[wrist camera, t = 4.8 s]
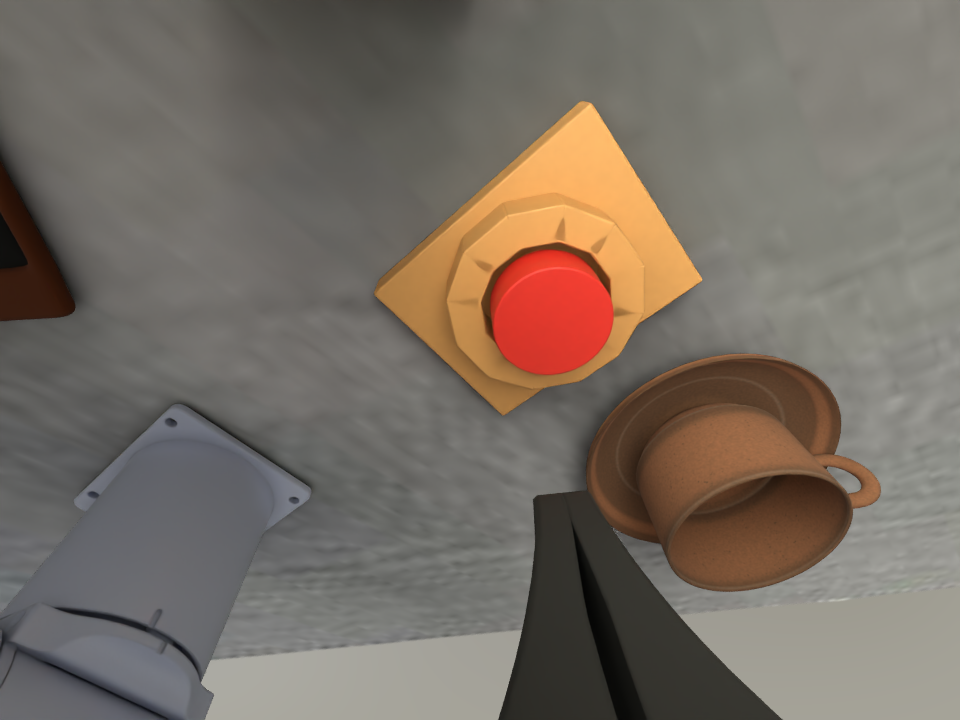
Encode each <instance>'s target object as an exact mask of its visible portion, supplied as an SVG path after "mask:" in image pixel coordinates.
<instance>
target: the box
mask: <svg viewBox="0 0 960 720" xmlns="http://www.w3.org/2000/svg"><path fill="white" fill-rule="evenodd" d="M539 250H562V251H566V252H569V253H572V254H574V255H576V256H578V257H580V258H581V259H583V260H584V261H585V262H586V263H587V264H588V265H589V266H590V267H591V268H592V269H593V271H594V272H595V274H596V275H597V277H598V278H599V279H600V281H601V282H602V284H603V285H604V287H605V288H606V290H607V292H608V293H609V295H610V298H611V300H612V304H613V310H614V321H613V326H612V330H611V333H610V336H609V338H608V340H607V342H606V343H605V345H604V346H603V348H602V349H601V350H600V351H599V353H598V354H597V355H596V356H595V357H594V358H592V359H591V360H590V361H589V362H587V363H586V364H584V365H582V366H581V367H579V368H577V369H574V370H572V371H569V372H566V373H562V374H556V375H539V374H534V373H530V372H527V371H524V370H522V369H520V368H518V367H516V366H515V365H513V364H512V363H510V362H509V361H508V360H507V359H506V358H505V357H504V356H503V354H502V353H501V352H500V350H499V348H498V346H497V344H496V342H495V338H494V335H493V327H492V320H491V313H490V298H491V293H492V290H493V287H494V285H495V283H496V281H497V279H498V278H499V276H500V275H501V273H502V272H503V271H504V270H505V269H506V268H507V267H508V266H509V265H510V264H511V263H513V262H514V261H515V260H517V259H518V258H520V257H522V256H524V255H526V254H529V253H532V252H535V251H539ZM701 281H702V278H701V276H700V275H699V273H698V271H697V270H696V268H695V267H694V265H693V264H692V262H691V260H690V259H689V257H688V256H687V254H686V252H685V251H684V249H683V248H682V246H681V244H680V243H679V241H678V240H677V238H676V236H675V235H674V233H673V232H672V230H671V228H670V227H669V225H668V224H667V222H666V220H665V219H664V217H663V216H662V214H661V213H660V211H659V209H658V208H657V206H656V205H655V203H654V201H653V200H652V198H651V197H650V195H649V193H648V192H647V190H646V189H645V187H644V185H643V184H642V182H641V181H640V179H639V177H638V176H637V174H636V173H635V171H634V169H633V168H632V166H631V165H630V163H629V162H628V160H627V158H626V157H625V155H624V154H623V152H622V150H621V149H620V147H619V146H618V144H617V142H616V141H615V139H614V138H613V136H612V134H611V133H610V131H609V130H608V128H607V126H606V125H605V123H604V122H603V120H602V118H601V117H600V115H599V114H598V112H597V111H596V109H595V107H594V106H593V104H591V103H588V102H584V101H581V102H579V103H578V104H577V105H576V106H575V107H574V108H572V109H571V110H570V111H569V112H568V113H567V114H566V115H565V116H563V117H562V118H561V119H560V120H559V121H558V122H557V123H555V124H554V125H553V126H552V127H551V128H550V129H549V130H548V131H546V132H545V133H544V134H543V135H542V136H541V137H540V138H539V139H537V140H536V141H535V142H534V143H533V144H532V145H531V146H530V147H528V148H527V149H526V150H525V151H524V152H523V153H522V154H521V155H519V156H518V157H517V158H516V159H515V160H514V161H513V162H511V163H510V164H509V165H508V166H507V167H506V168H505V169H504V170H502V171H501V172H500V173H499V174H498V175H497V176H496V177H495V178H493V179H492V180H491V181H490V182H489V183H488V184H487V185H486V186H484V187H483V188H482V189H481V190H480V191H479V192H478V193H477V194H475V195H474V196H473V197H472V198H471V199H470V200H469V201H468V202H466V203H465V204H464V205H463V206H462V207H461V208H460V209H458V210H457V211H456V212H455V213H454V214H453V215H452V216H451V217H449V218H448V219H447V220H446V221H445V222H444V223H443V224H442V225H440V226H439V227H438V228H437V229H436V230H435V231H434V232H433V233H431V234H430V235H429V236H428V237H427V238H426V239H425V240H424V241H422V242H421V243H420V244H419V245H418V246H417V247H416V248H415V249H413V250H412V251H411V252H410V253H409V254H408V255H407V256H405V257H404V258H403V259H402V260H401V261H400V262H399V263H398V264H396V265H395V266H394V267H393V268H392V269H391V270H390V271H389V272H387V273H386V274H385V275H384V276H383V277H382V278H381V279H380V280H379V281H378V284H377V287H376V289H375V292H374V295H375V296H376V297H377V298H378V299H379V300H380V301H382V302H383V303H384V304H385V305H386V306H387V307H388V308H389V309H390V310H391V311H392V312H393V313H394V314H395V315H396V316H397V317H399V318H400V319H401V320H402V321H403V322H404V323H405V324H406V325H407V326H408V327H409V328H410V329H411V330H412V331H413V332H414V333H416V334H417V335H418V336H419V337H420V338H421V339H422V340H423V341H424V342H425V343H426V344H427V345H428V346H429V347H430V348H431V349H432V350H434V351H435V352H436V353H437V354H438V355H439V356H440V357H441V358H442V359H443V360H444V361H445V362H446V363H447V364H448V365H449V366H451V367H452V368H453V369H454V370H455V371H456V372H457V373H458V374H459V375H460V376H461V377H462V378H463V379H464V380H465V381H466V382H468V383H469V384H470V385H471V386H472V387H473V388H474V389H475V390H476V391H477V392H478V393H479V394H480V395H481V396H482V397H483V398H485V399H486V400H487V401H488V402H489V403H490V404H491V405H492V406H493V407H494V408H495V409H496V410H497V411H498V412H499V413H500V414H501V415H505V414H507V413H508V412H510V411H511V410H513V409H514V408H516V407H517V406H519V405H520V404H522V403H523V402H525V401H526V400H528V399H529V398H530V397H532V396H533V395H535V394H536V393H538V392H539V391H541V390H542V389H544V388H545V387H551V386H557V385H563V384H569V383H574V382H578V381H581V380H583V379H584V378H586V377H587V376H589V375H590V374H592V373H593V372H595V371H596V370H598V369H599V368H601V367H603V366H604V365H606V364H607V363H609V362H610V361H612V360H613V359H615V358H616V357H618V356H619V354H620V353H621V352H622V350H623V348H624V347H625V345H626V343H627V342H628V340H629V338H630V337H631V335H632V333H633V331H634V330H635V328H636V326H637V325H638V324H640V323H641V322H642V321H644V320H645V319H647V318H648V317H650V316H651V315H653V314H654V313H656V312H657V311H659V310H660V309H662V308H663V307H665V306H666V305H668V304H669V303H670V302H672V301H673V300H675V299H676V298H678V297H679V296H681V295H682V294H684V293H685V292H687V291H688V290H690V289H691V288H693V287H694V286H696V285H697V284H698V283H700V282H701Z"/></svg>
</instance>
